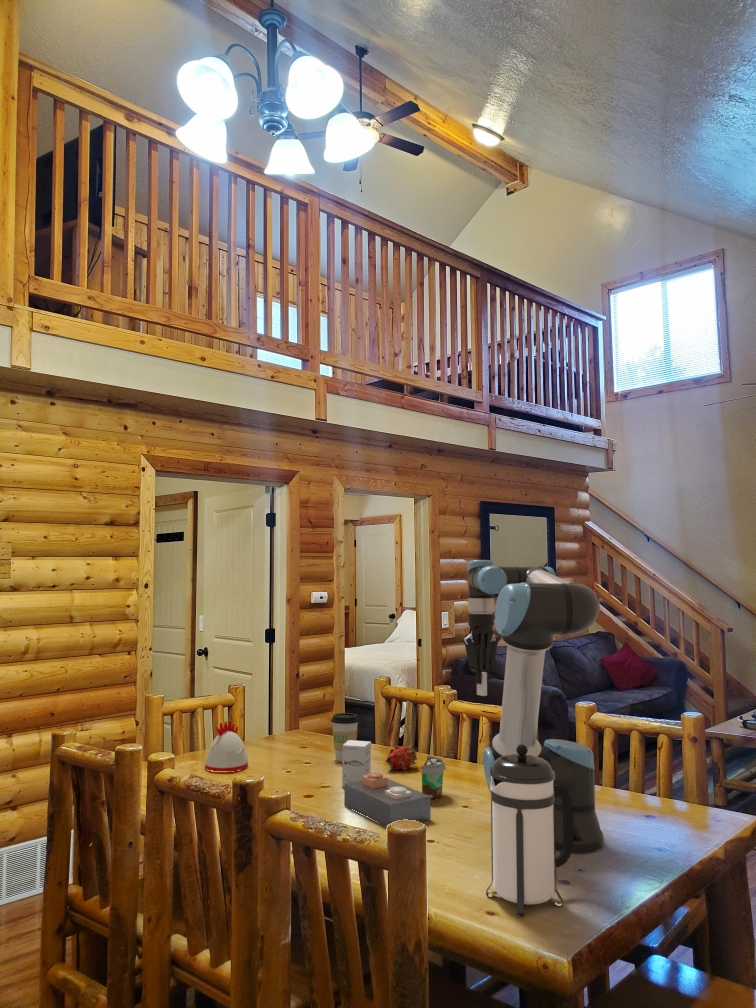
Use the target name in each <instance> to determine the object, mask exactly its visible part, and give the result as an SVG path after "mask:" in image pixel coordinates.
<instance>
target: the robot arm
mask: <svg viewBox="0 0 756 1008" xmlns="http://www.w3.org/2000/svg"><path fill="white" fill-rule="evenodd" d="M466 574H467V591H468V592H467V595H468V596H467V597H468V598H467V601H468V602H467V603H468V604H467V605H468V606H467V608H468V610H467V611H468V612H469V613H468V615H467V618H468V619H467V623H468V624H467V625H468V626H469V631H468V635H467V636H466V637H463V638H462V643H463V644H464V647H465V652H466V657H467V662H468V663H467V664H468V668H469V670H470V671H472V672H474V677H475V678H474V679H475V681H474V683H475V684H476V695H477V696H482V697H485V696H488V683H489V673H491V672H492V670H494V668H495V662H496V657H497V650H498V644H499V641H500V640H502V642H503V643H504V644H505V645H506V647H507V648H506V649H507V650H506V657H505V658H506V659H505V669H504V670H505V671H504V679H503V692H502V701H501V702H502V703H501V714H500V724H499V733H497V734H496V735H495V736H494V737H493V738H492V741H491V747H489V746H488V747H486V748H484V749H483V751H482V764H483V770H484V776H485V780H486V784H487V789H488V792H489V794H491V790H490V785H491V775H490V768H491V767H493V764H494V762H495V761H496V760H497V759H498V758H500V757H502V756H505V755H512V754H518V753H517V751H516V749H517V746H518V745H520V744H523V745H525V746H526V747H527V750H528V751H527V754H526V755H532V756H536V757H540V758H542V759H544V760H546V761H547V762H548V763H549V764H550V765H551V767H552V770H553V771H554V772H555V779H554V781H553V785H559V786H562V787H564V788H565V789H566V790H567V791H568V793H569V795H570V797H571V802H572V815H573V847H572V852H571V854H588V852H590V853H594V852H593V851H595V852H597V851H596V850H598V851H600V850H602V849H603V848H604V846H603V845H605V842H604V841H605V840H604V833H603V831H602V830H601V826H600V822H599V819H598V815H597V812H596V788H595V785H596V783H595V781H596V780H595V777H596V775H595V774H596V773H595V770H596V767H595V760H594V759H595V758H594V753H593V751H592V749H591V748H589V747H588V746H587V745H583V744H581V743H578V742H575V741H570V740H564V739H555V738H554V739H553V738H550V739H545V740H544V743H543V746H542V745H541V744H540V742H539V741H538V740H537V731H538V724H539V723H538V722H539V715H540V714H539V711H540V705H541V704H540V703H541V695H542V694H541V693H542V685H543V684H542V683H543V675H544V667H545V656H546V651H548V650H549V649H551V648H552V647H553V645H554V638H555V636H569V635H570V636H571V635H576V634H580V633H583V632H585V631H587V630H588V629H589V628H591V627H592V626H593V625H594V624H595V622H596V621H597V619H598V617H599V614H600V611H601V610H600V609H601V606H600V600H599V598H598V596H597V594H596V592H595V591H594V589H592V588H591V587H589V586H587V585H585V584H583V583H581V582H575V581H573V582H572V581H571V582H569V581H567V580H565V579H563V578H561V577H558V576H556V572H555V570H554V568H553V567H550V566H541V565H540V566H501V565H500V566H497V565H494V561H492V560H489V559H472V560H469V562H468V564H467V573H466ZM496 594H498V596H497V599H496V602H495V597H494V596H495V595H496ZM494 626H495V629H496V633H497V634H498V635H500V636H501V637H500V636H498V635H496V634H495V633H494V632H495V631H494V629H493V627H494ZM500 638H501V639H500ZM555 839H556V851H559V852H561V851H562V848H563V805H562V800H561V797H560V796H559V795H558V794H555ZM602 847H603V848H602ZM601 848H602V849H601ZM599 849H600V850H599ZM554 851H555V845H554Z"/></svg>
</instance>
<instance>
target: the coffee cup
mask: <svg viewBox="0 0 756 1008" xmlns="http://www.w3.org/2000/svg"><path fill="white" fill-rule="evenodd" d="M330 722H331V724H332V737H333V747H334V754H335V755H334V756H335V760H336V762H340V763H343V745H344V744H345V743H346V742H347V741H348V740H354V741H357V737H358V724H359V723H360V719H359V717H358V714H357V713H351V712H350V713H349V712H343V713H342V712H341V713H339V712H338V713H335V714H333V716H332V717H331V719H330Z"/></svg>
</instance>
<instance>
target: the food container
mask: <svg viewBox="0 0 756 1008" xmlns="http://www.w3.org/2000/svg"><path fill="white" fill-rule="evenodd" d="M444 761H445V760H444V759H442V758H441V757H437V756H434V755H433V756H432V755H427V756H426V761H425V762H424V765H423V764H422V765H421V792H422V793H424V794H426V795H429V796H430V799H431V802H432V801H438V800H440V799H441V798H442V796H443V784H444V783H443V781H444V780H443V779H444V771H445V770H446V763H445V762H444Z"/></svg>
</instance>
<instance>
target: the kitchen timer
mask: <svg viewBox="0 0 756 1008" xmlns="http://www.w3.org/2000/svg"><path fill="white" fill-rule="evenodd" d="M235 726H236V724H235V723H232V721H231V720H228V722H227V721H224V724H223V723H222V722H220V723H219V728H218V727H217V726H216V727H215V731H216V732H217V735H216V737H215V738H214V739H213V741H212V742H211V744H210V746H209V749H208V752H207V756H206V759H205V766H204V769H205V768H206V769H208V770H213V771H237V770H242V771H244V770H243V769H245V770H246V769H248V768H249V759H248V753H247V750H246V746H245V744H244V742H243V740H242V739H241V737H240V736H239V735H238V734H237V733H238V731H239V726H236V727H235ZM247 767H248V768H247ZM206 769H205V770H206Z"/></svg>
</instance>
